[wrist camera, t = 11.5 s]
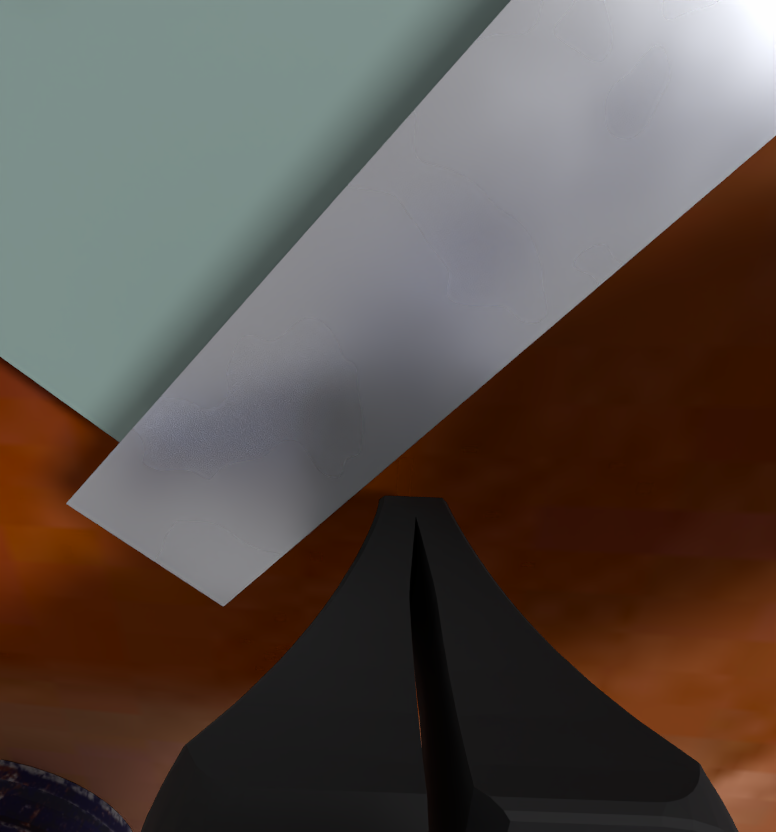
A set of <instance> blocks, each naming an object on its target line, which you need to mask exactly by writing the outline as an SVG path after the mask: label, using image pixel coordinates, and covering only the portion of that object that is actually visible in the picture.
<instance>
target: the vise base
mask: <svg viewBox="0 0 776 832" xmlns="http://www.w3.org/2000/svg"><path fill="white" fill-rule="evenodd" d="M510 1H511V0H0V357H2V358H3V359H4V360H6V361H7V362H8V363H10V364H11V365H13V366H14V367H15V368H17V369H18V370H20V371H21V372H22V373H24V374H25V375H27V376H28V377H29V378H31V379H32V380H34V381H35V382H36V383H38V384H39V385H40V386H42V387H43V388H45V389H46V390H47V391H49V392H50V393H52V394H53V395H54V396H56V397H57V398H59V399H60V400H61V401H63V402H64V403H66V404H67V405H68V406H70V407H71V408H72V409H74V410H75V411H77V412H78V413H79V414H81V415H82V416H84V417H85V418H86V419H88V420H89V421H91V422H92V423H93V424H95V425H96V426H98V427H99V428H100V429H102V430H103V431H104V432H106V433H107V434H109V435H110V436H111V437H113V438H114V439H116V440H117V441H118V442H121V441H122V440H123V439H124V437H125V436H126V435H127V434H128V433H129V432H130V431H131V430H132V428H133V427H134V426H135V425H136V424H137V423H138V422H139V421H140V419H141V418H142V417H143V416H144V415H145V414H146V413H147V411H148V410H149V409H150V408H151V407H152V406H153V405H154V404H155V402H156V401H157V400H158V399H159V398H160V397H161V396H162V395H163V393H164V392H165V391H166V390H167V389H168V388H169V387H170V385H171V384H172V383H173V382H174V381H175V380H176V379H177V378H178V376H179V375H180V374H181V373H182V372H183V371H184V370H185V368H186V367H187V366H188V365H189V364H190V363H191V362H192V361H193V359H194V358H195V357H196V356H197V355H198V354H199V353H200V352H201V350H202V349H203V348H204V347H205V346H206V345H207V344H208V342H209V341H210V340H211V339H212V338H213V337H214V336H215V335H216V333H217V332H218V331H219V330H220V329H221V328H222V327H223V326H224V324H225V323H226V322H227V321H228V320H229V319H230V318H231V316H232V315H233V314H234V313H235V312H236V311H237V310H238V309H239V307H240V306H241V305H242V304H243V303H244V302H245V301H246V299H247V298H248V297H249V296H250V295H251V294H252V293H253V292H254V290H255V289H256V288H257V287H258V286H259V285H260V284H261V283H262V281H263V280H264V279H265V278H266V277H267V276H268V275H269V273H270V272H271V271H272V270H273V269H274V268H275V267H276V266H277V264H278V263H279V262H280V261H281V260H282V259H283V258H284V257H285V255H286V254H287V253H288V252H289V251H290V250H291V249H292V247H293V246H294V245H295V244H296V243H297V242H298V241H299V240H300V238H301V237H302V236H303V235H304V234H305V233H306V232H307V230H308V229H309V228H310V227H311V226H312V225H313V224H314V223H315V221H316V220H317V219H318V218H319V217H320V216H321V215H322V214H323V212H324V211H325V210H326V209H327V208H328V207H329V206H330V204H331V203H332V202H333V201H334V200H335V199H336V198H337V197H338V195H339V194H340V193H341V192H342V191H343V190H344V189H345V188H346V186H347V185H348V184H349V183H350V182H351V181H352V180H353V178H354V177H355V176H356V175H357V174H358V173H359V172H360V171H361V169H362V168H363V167H364V166H365V165H366V164H367V163H368V161H369V160H370V159H371V158H372V157H373V156H374V155H375V154H376V152H377V151H378V150H379V149H380V148H381V147H382V146H383V145H384V143H385V142H386V141H387V140H388V139H389V138H390V137H391V135H392V134H393V133H394V132H395V131H396V130H397V129H398V128H399V126H400V125H401V124H402V123H403V122H404V121H405V120H406V119H407V117H408V116H409V115H410V114H411V113H412V112H413V111H414V109H415V108H416V107H417V106H418V105H419V104H420V103H421V102H422V100H423V99H424V98H425V97H426V96H427V95H428V94H429V92H430V91H431V90H432V89H433V88H434V87H435V86H436V85H437V83H438V82H439V81H440V80H441V79H442V78H443V77H444V76H445V74H446V73H447V72H448V71H449V70H450V69H451V68H452V66H453V65H454V64H455V63H456V62H457V61H458V60H459V59H460V57H461V56H462V55H463V54H464V53H465V52H466V51H467V50H468V48H469V47H470V46H471V45H472V44H473V43H474V42H475V40H476V39H477V38H478V37H479V36H480V35H481V34H482V33H483V31H484V30H485V29H486V28H487V27H488V26H489V25H490V23H491V22H492V21H493V20H494V19H495V18H496V17H497V16H498V14H499V13H500V12H501V11H502V10H503V9H504V8H505V7H506V5H507V4H508V3H509V2H510Z"/></svg>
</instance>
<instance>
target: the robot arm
mask: <svg viewBox="0 0 776 832" xmlns="http://www.w3.org/2000/svg"><path fill="white" fill-rule="evenodd" d="M414 672H415V675H414ZM415 681H416V686H415ZM416 690H417V698H418V707H419V716H420V728H421V738H420V729H419V719H418V709H417V698H416ZM421 742H422V748H421ZM141 832H738V830H737V828H736V826H735V824H734V822H733V820H732V818H731V816H730V814H729V812H728V811H727V809H726V807H725V805H724V803H723V801H722V800H721V798H720V796H719V795H718V793H717V791H716V790H715V788H714V787H713V785H712V784H711V782H710V780H709V779H708V777H707V776H706V774H705V772H704V770H703V769H702V767H701V765H700V764H699V763H698V762H697V761H695V760H694V759H693V758H691V757H690V756H688V755H687V754H686V753H684V752H683V751H681V750H680V749H678V748H677V747H676V746H674V745H673V744H671V743H670V742H668V741H667V740H666V739H664V738H663V737H661V736H660V735H659V734H657V733H656V732H654V731H653V730H651V729H650V728H649V727H647V726H646V725H644V724H643V723H641V722H640V721H639V720H637V719H636V718H635V717H633V716H632V715H631V714H629V713H628V712H627V711H626V710H624V709H623V708H622V707H621V706H619V705H618V704H617V703H616V702H614V701H613V700H612V699H611V698H609V697H608V696H607V695H606V694H604V693H603V692H602V691H601V690H599V689H598V688H597V687H596V686H595V685H594V684H592V683H591V682H590V681H589V680H588V679H587V678H586V677H584V676H583V675H582V674H581V673H580V672H579V671H578V670H577V669H576V668H575V667H573V666H572V665H571V664H570V663H569V662H568V661H567V660H566V659H565V658H564V657H562V656H561V655H560V654H559V653H558V652H557V651H556V650H555V649H554V648H553V647H552V646H551V645H550V644H549V643H548V642H547V641H546V640H545V639H544V638H543V637H542V636H541V635H540V634H539V633H538V632H537V631H536V629H535V628H534V627H533V626H532V625H531V624H530V623H529V622H528V621H527V620H526V618H525V617H524V616H523V615H522V614H521V613H520V612H519V610H518V609H517V608H516V607H515V606H514V604H513V603H512V602H511V601H510V600H509V598H508V597H507V596H506V595H505V593H504V592H503V591H502V589H501V588H500V587H499V586H498V584H497V583H496V582H495V580H494V579H493V578H492V576H491V575H490V573H489V572H488V571H487V569H486V568H485V566H484V565H483V563H482V562H481V561H480V559H479V558H478V556H477V555H476V553H475V552H474V550H473V549H472V547H471V546H470V544H469V542H468V541H467V539H466V537H465V536H464V534H463V532H462V531H461V529H460V527H459V526H458V524H457V522H456V520H455V518H454V516H453V515H452V513H451V511H450V509H449V507H448V504H447V502H446V501H445V500H444V499H443V498H433V497H408V496H384V497H382V498H381V499H380V500H379V504H378V509H377V512H376V515H375V518H374V521H373V523H372V526H371V528H370V530H369V533H368V535H367V537H366V539H365V541H364V543H363V545H362V547H361V549H360V551H359V553H358V554H357V556H356V558H355V560H354V562H353V563H352V565H351V567H350V568H349V570H348V572H347V573H346V575H345V576H344V578H343V580H342V581H341V583H340V585H339V586H338V588H337V589H336V591H335V592H334V594H333V595H332V597H331V598H330V599H329V601H328V602H327V604H326V605H325V606H324V608H323V609H322V610H321V612H320V613H319V614H318V616H317V617H316V618H315V620H314V621H313V622H312V623H311V625H310V626H309V627H308V628H307V629H306V631H305V632H304V633H303V634H302V635H301V636H300V638H299V639H298V640H297V641H296V642H295V644H294V645H293V646H292V647H291V648H290V649H289V650H288V651H287V653H286V654H285V655H284V656H283V657H282V658H281V659H280V660H279V661H278V662H277V663H276V664H275V665H274V666H273V667H272V668H271V669H270V670H269V671H268V672H267V673H266V674H265V675H264V676H263V677H262V678H261V679H260V680H259V681H258V682H257V683H256V684H255V685H254V686H253V687H252V688H251V689H250V690H249V691H248V692H247V693H246V694H245V695H244V696H242V697H241V698H240V699H239V700H238V701H237V702H236V703H235V704H234V705H233V706H231V707H230V708H229V709H228V710H227V711H225V712H224V713H223V714H222V715H221V716H219V717H218V718H217V719H216V720H215V721H213V722H212V723H211V724H210V725H209V726H207V727H206V728H205V729H204V730H203V731H201V732H200V733H199V734H198V735H197V736H196V737H194V738H193V739H192V740H191V741H189V742H188V743H187V744H186V745H185V746H184V747H183V749H182V751H181V752H180V754H179V756H178V757H177V759H176V761H175V763H174V764H173V766H172V768H171V770H170V771H169V773H168V775H167V777H166V779H165V781H164V782H163V784H162V786H161V788H160V790H159V792H158V794H157V796H156V798H155V800H154V802H153V805H152V807H151V809H150V811H149V813H148V815H147V817H146V820H145V822H144V825H143V827H142V830H141Z"/></svg>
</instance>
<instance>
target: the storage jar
mask: <svg viewBox="0 0 776 832" xmlns="http://www.w3.org/2000/svg"><path fill="white" fill-rule="evenodd" d="M0 832H132V830H131V828H130V827H129V825H128V824H127V823H126V822H125V820H124V819H123V818H122V817H121V816H120V815H119V814H118V813H117V812H116V811H115V810H114V809H113V808H112V807H111V806H110V805H109V804H107V803H106V802H104V801H103V800H101V799H100V798H99V797H97V796H96V795H94V794H93V793H91V792H89V791H87V790H86V789H84V788H82V787H80V786H78V785H77V784H75V783H73V782H70V781H68V780H66V779H63V778H61V777H59V776H57V775H54V774H51V773H48V772H45V771H42V770H39V769H36V768H33V767H30V766H26V765H22V764H18V763H14V762H9V761H4V760H0Z"/></svg>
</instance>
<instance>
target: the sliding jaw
mask: <svg viewBox="0 0 776 832" xmlns="http://www.w3.org/2000/svg"><path fill="white" fill-rule="evenodd" d="M774 136H776V0H511V1H510V2H509V3H508V4H507V5H506V7H505V8H504V9H503V10H502V11H501V12H500V13H499V14H498V16H497V17H496V18H495V19H494V20H493V21H492V22H491V23H490V25H489V26H488V27H487V28H486V29H485V30H484V31H483V33H482V34H481V35H480V36H479V37H478V38H477V39H476V40H475V42H474V43H473V44H472V45H471V46H470V47H469V48H468V50H467V51H466V52H465V53H464V54H463V55H462V56H461V57H460V59H459V60H458V61H457V62H456V63H455V64H454V65H453V66H452V68H451V69H450V70H449V71H448V72H447V73H446V74H445V76H444V77H443V78H442V79H441V80H440V81H439V82H438V83H437V85H436V86H435V87H434V88H433V89H432V90H431V91H430V92H429V94H428V95H427V96H426V97H425V98H424V99H423V100H422V102H421V103H420V104H419V105H418V106H417V107H416V108H415V109H414V111H413V112H412V113H411V114H410V115H409V116H408V117H407V119H406V120H405V121H404V122H403V123H402V124H401V125H400V126H399V128H398V129H397V130H396V131H395V132H394V133H393V134H392V135H391V137H390V138H389V139H388V140H387V141H386V142H385V143H384V145H383V146H382V147H381V148H380V149H379V150H378V151H377V152H376V154H375V155H374V156H373V157H372V158H371V159H370V160H369V161H368V163H367V164H366V165H365V166H364V167H363V168H362V169H361V171H360V172H359V173H358V174H357V175H356V176H355V177H354V178H353V180H352V181H351V182H350V183H349V184H348V185H347V186H346V188H345V189H344V190H343V191H342V192H341V193H340V194H339V195H338V197H337V198H336V199H335V200H334V201H333V202H332V203H331V204H330V206H329V207H328V208H327V209H326V210H325V211H324V212H323V214H322V215H321V216H320V217H319V218H318V219H317V220H316V221H315V223H314V224H313V225H312V226H311V227H310V228H309V229H308V230H307V232H306V233H305V234H304V235H303V236H302V237H301V238H300V240H299V241H298V242H297V243H296V244H295V245H294V246H293V247H292V249H291V250H290V251H289V252H288V253H287V254H286V255H285V257H284V258H283V259H282V260H281V261H280V262H279V263H278V264H277V266H276V267H275V268H274V269H273V270H272V271H271V272H270V273H269V275H268V276H267V277H266V278H265V279H264V280H263V281H262V283H261V284H260V285H259V286H258V287H257V288H256V289H255V290H254V292H253V293H252V294H251V295H250V296H249V297H248V298H247V299H246V301H245V302H244V303H243V304H242V305H241V306H240V307H239V309H238V310H237V311H236V312H235V313H234V314H233V315H232V316H231V318H230V319H229V320H228V321H227V322H226V323H225V324H224V326H223V327H222V328H221V329H220V330H219V331H218V332H217V333H216V335H215V336H214V337H213V338H212V339H211V340H210V341H209V342H208V344H207V345H206V346H205V347H204V348H203V349H202V350H201V352H200V353H199V354H198V355H197V356H196V357H195V358H194V359H193V361H192V362H191V363H190V364H189V365H188V366H187V367H186V368H185V370H184V371H183V372H182V373H181V374H180V375H179V376H178V378H177V379H176V380H175V381H174V382H173V383H172V384H171V385H170V387H169V388H168V389H167V390H166V391H165V392H164V393H163V395H162V396H161V397H160V398H159V399H158V400H157V401H156V402H155V404H154V405H153V406H152V407H151V408H150V409H149V410H148V411H147V413H146V414H145V415H144V416H143V417H142V418H141V419H140V421H139V422H138V423H137V424H136V425H135V426H134V427H133V428H132V430H131V431H130V432H129V433H128V434H127V435H126V436H125V437H124V439H123V440H122V441H121V442H120V443H119V444H118V445H117V447H116V448H115V449H114V450H113V451H112V452H111V453H110V454H109V456H108V457H107V458H106V459H105V460H104V461H103V462H102V464H101V465H100V466H99V467H98V468H97V469H96V470H95V471H94V473H93V474H92V475H91V476H90V477H89V478H88V479H87V480H86V482H85V483H84V484H83V485H82V486H81V487H80V488H79V490H78V491H77V492H76V493H75V494H74V495H73V496H72V497H71V499H70V500H69V501H68V502H67V503H66V504H67V505H69V506H70V507H72V508H74V509H75V510H77V511H78V512H80V513H81V514H83V515H84V516H86V517H87V518H89V519H90V520H92V521H93V522H95V523H96V524H98V525H99V526H101V527H102V528H104V529H106V530H107V531H109V532H110V533H112V534H113V535H115V536H116V537H118V538H119V539H121V540H122V541H124V542H125V543H127V544H128V545H130V546H131V547H133V548H135V549H136V550H138V551H139V552H141V553H142V554H144V555H145V556H147V557H148V558H150V559H151V560H153V561H154V562H156V563H157V564H159V565H160V566H162V567H164V568H165V569H167V570H168V571H170V572H171V573H173V574H174V575H176V576H177V577H179V578H180V579H182V580H183V581H185V582H186V583H188V584H189V585H191V586H192V587H194V588H196V589H197V590H199V591H200V592H202V593H203V594H205V595H206V596H208V597H209V598H211V599H212V600H214V601H215V602H217V603H218V604H220V605H221V606H223V607H224V606H225V605H226V604H227V603H228V602H229V601H231V600H232V599H233V598H234V597H235V596H236V595H238V594H239V593H240V592H241V591H242V590H243V589H245V588H246V587H247V586H248V585H249V584H250V583H252V582H253V581H254V580H255V579H256V578H258V577H259V576H260V575H261V574H262V573H263V572H265V571H266V570H267V569H268V568H269V567H270V566H272V565H273V564H274V563H275V562H276V561H277V560H279V559H280V558H281V557H282V556H283V555H284V554H286V553H287V552H288V551H289V550H290V549H292V548H293V547H294V546H295V545H296V544H297V543H299V542H300V541H301V540H302V539H303V538H304V537H306V536H307V535H308V534H309V533H310V532H311V531H313V530H314V529H315V528H316V527H317V526H318V525H320V524H321V523H322V522H323V521H324V520H326V519H327V518H328V517H329V516H330V515H331V514H333V513H334V512H335V511H336V510H337V509H338V508H340V507H341V506H342V505H343V504H344V503H345V502H347V501H348V500H349V499H350V498H351V497H352V496H354V495H355V494H356V493H357V492H358V491H359V490H361V489H362V488H363V487H364V486H365V485H367V484H368V483H369V482H370V481H371V480H372V479H374V478H375V477H376V476H377V475H378V474H379V473H381V472H382V471H383V470H384V469H385V468H386V467H388V466H389V465H390V464H391V463H392V462H393V461H395V460H396V459H397V458H398V457H399V456H401V455H402V454H403V453H404V452H405V451H406V450H408V449H409V448H410V447H411V446H412V445H413V444H415V443H416V442H417V441H418V440H419V439H420V438H422V437H423V436H424V435H425V434H426V433H427V432H429V431H430V430H431V429H432V428H433V427H435V426H436V425H437V424H438V423H439V422H440V421H442V420H443V419H444V418H445V417H446V416H447V415H449V414H450V413H451V412H452V411H453V410H454V409H456V408H457V407H458V406H459V405H460V404H461V403H463V402H464V401H465V400H466V399H467V398H468V397H470V396H471V395H472V394H473V393H474V392H476V391H477V390H478V389H479V388H480V387H481V386H483V385H484V384H485V383H486V382H487V381H488V380H490V379H491V378H492V377H493V376H494V375H495V374H497V373H498V372H499V371H500V370H501V369H502V368H504V367H505V366H506V365H507V364H508V363H510V362H511V361H512V360H513V359H514V358H515V357H517V356H518V355H519V354H520V353H521V352H522V351H524V350H525V349H526V348H527V347H528V346H529V345H531V344H532V343H533V342H534V341H535V340H536V339H538V338H539V337H540V336H541V335H542V334H544V333H545V332H546V331H547V330H548V329H549V328H551V327H552V326H553V325H554V324H555V323H556V322H558V321H559V320H560V319H561V318H562V317H563V316H565V315H566V314H567V313H568V312H569V311H570V310H572V309H573V308H574V307H575V306H576V305H577V304H579V303H580V302H581V301H582V300H583V299H585V298H586V297H587V296H588V295H589V294H590V293H592V292H593V291H594V290H595V289H596V288H597V287H599V286H600V285H601V284H602V283H603V282H604V281H606V280H607V279H608V278H609V277H610V276H611V275H613V274H614V273H615V272H616V271H617V270H619V269H620V268H621V267H622V266H623V265H624V264H626V263H627V262H628V261H629V260H630V259H631V258H633V257H634V256H635V255H636V254H637V253H638V252H640V251H641V250H642V249H643V248H644V247H645V246H647V245H648V244H649V243H650V242H651V241H653V240H654V239H655V238H656V237H657V236H658V235H660V234H661V233H662V232H663V231H664V230H665V229H667V228H668V227H669V226H670V225H671V224H672V223H674V222H675V221H676V220H677V219H678V218H679V217H681V216H682V215H683V214H684V213H685V212H686V211H688V210H689V209H690V208H691V207H692V206H694V205H695V204H696V203H697V202H698V201H699V200H701V199H702V198H703V197H704V196H705V195H706V194H708V193H709V192H710V191H711V190H712V189H713V188H715V187H716V186H717V185H718V184H719V183H720V182H722V181H723V180H724V179H725V178H726V177H728V176H729V175H730V174H731V173H732V172H733V171H735V170H736V169H737V168H738V167H739V166H740V165H742V164H743V163H744V162H745V161H746V160H747V159H749V158H750V157H751V156H752V155H753V154H754V153H756V152H757V151H758V150H759V149H760V148H761V147H763V146H764V145H765V144H766V143H767V142H769V141H770V140H771V139H772V138H773V137H774Z"/></svg>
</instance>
